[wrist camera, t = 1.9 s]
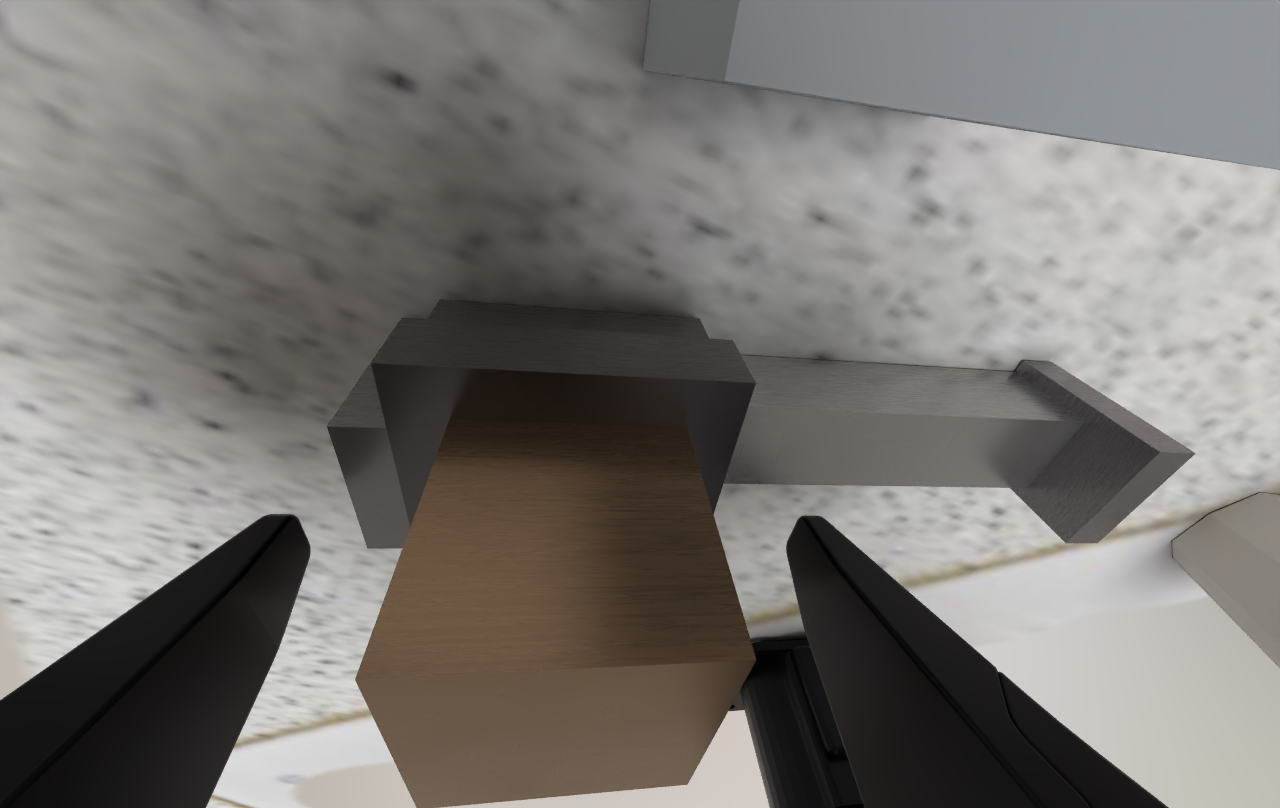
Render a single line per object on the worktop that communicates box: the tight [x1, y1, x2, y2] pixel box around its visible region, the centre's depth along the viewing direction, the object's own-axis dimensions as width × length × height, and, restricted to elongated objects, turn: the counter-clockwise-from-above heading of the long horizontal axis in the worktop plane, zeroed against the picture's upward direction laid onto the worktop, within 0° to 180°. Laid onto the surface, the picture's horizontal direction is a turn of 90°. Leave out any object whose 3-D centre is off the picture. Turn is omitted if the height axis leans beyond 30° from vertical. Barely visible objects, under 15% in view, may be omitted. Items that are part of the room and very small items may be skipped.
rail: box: [327, 321, 1195, 548], centre depth 12 cm, size 3×18×4 cm, turn 83°
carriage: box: [355, 299, 756, 808], centre depth 9 cm, size 6×6×8 cm
